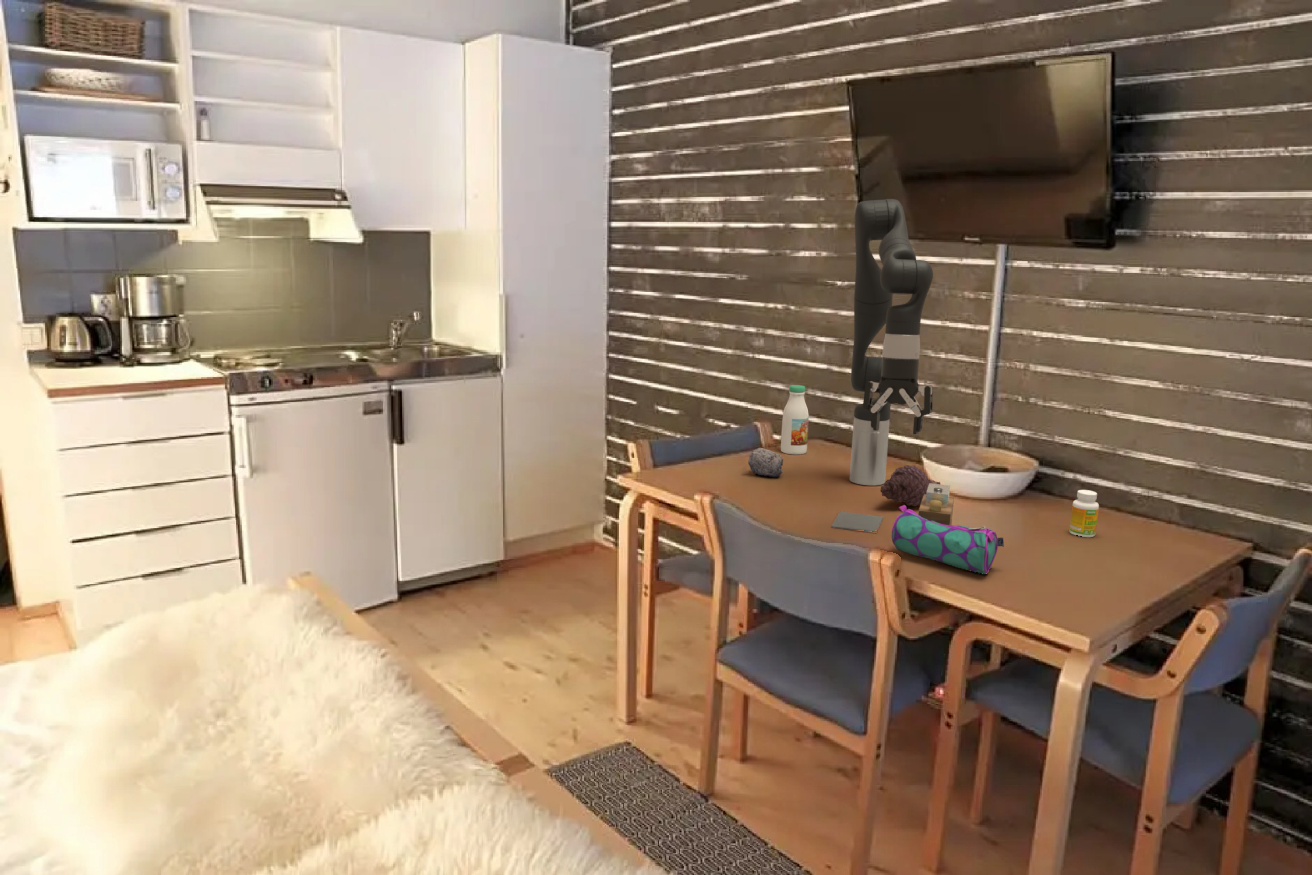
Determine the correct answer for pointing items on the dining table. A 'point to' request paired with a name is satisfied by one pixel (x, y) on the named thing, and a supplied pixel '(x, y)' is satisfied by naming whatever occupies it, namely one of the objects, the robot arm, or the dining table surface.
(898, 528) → the pencil case
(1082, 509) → the supplement bottle
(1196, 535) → the dining table surface
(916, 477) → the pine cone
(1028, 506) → the dining table surface
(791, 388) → the milk bottle
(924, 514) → the body
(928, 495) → the lever cap
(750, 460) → the pumice stone
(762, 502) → the dining table surface
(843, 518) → the mat
